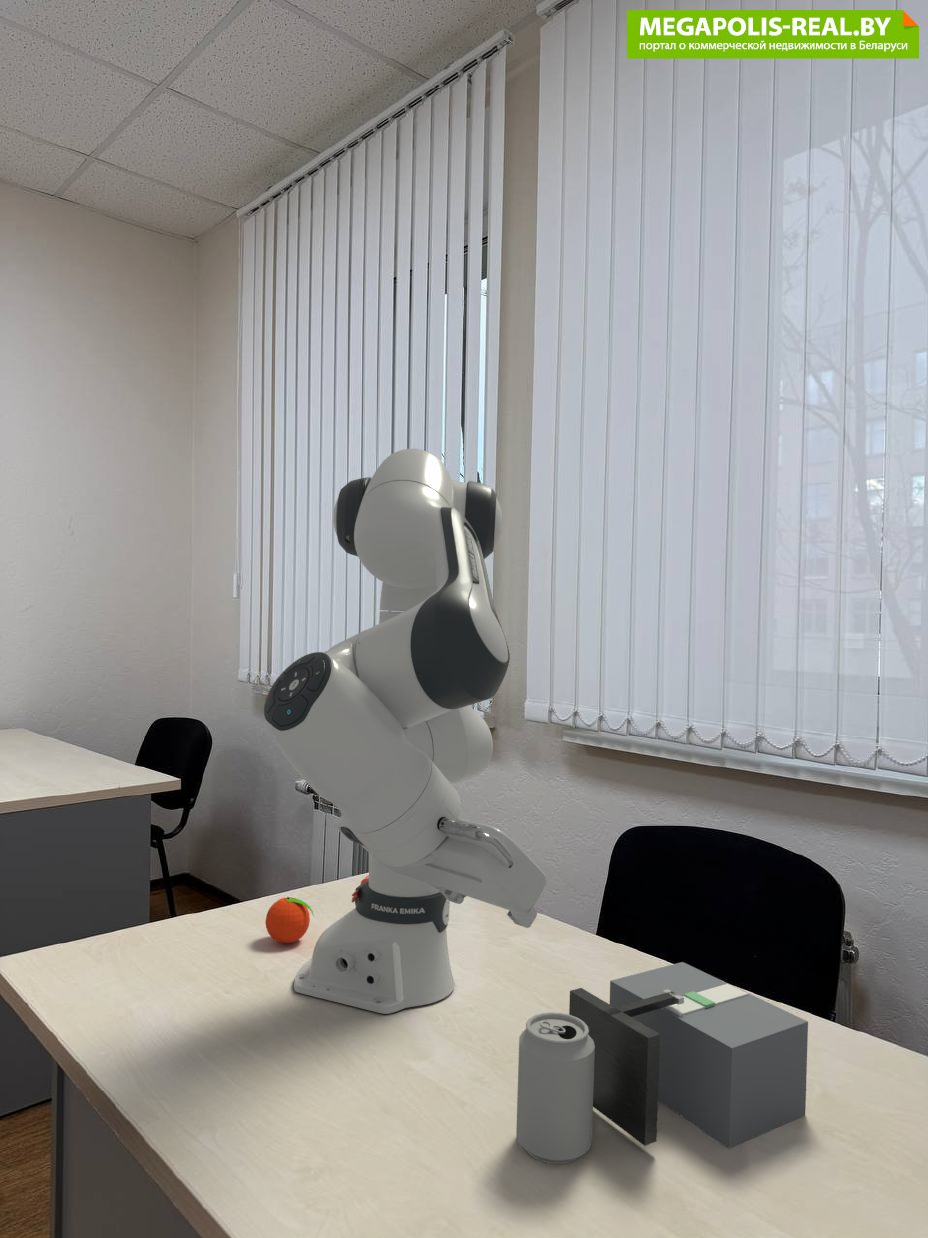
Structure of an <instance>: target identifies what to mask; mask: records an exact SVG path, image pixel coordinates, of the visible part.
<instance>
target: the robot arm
mask: <svg viewBox="0 0 928 1238" xmlns="http://www.w3.org/2000/svg"><path fill="white" fill-rule="evenodd" d="M448 470H449V469H447V466H446V465H445V464H444V462H443V461H441V460H440V458H438V457H437V456H436V455H435V454H433V453H430V452H429V451H426V450H423V449H419V448H406V449H401V450H397V451H395V452H393V453H392V454H390V455H389V456H387V457H386V458H385V459H383V461H382V462H381V464H380V465H379V466H378V467H377V469H376V471H374V473H373V475H372V477H371V476H367V477H362V478H358V479H354V480H350V481H349V482H347V483H346V484H345V485H344V486H343V487H342V488H341V489H340V491H339V493H338V496H337V499H336V502H335V505H334V508H333V509H334V510H333V514H332V515H333V519H332V520H333V521H332V522H333V526H334V527H333V528H334V531H335V534H336V537H337V542H338V544H339V546H340V547H341V548H342V549H343V550H344V551H345V552H346V554H349V555H352V556H355V557H358V559H359V560H360V562H361V564H362V565H363V567H364V568H365V569H366V570H367V571H368V572H369V573H370V575H372V576H373V577H374V578H376V579H378V580H379V581H380V582H382V585H381V591H380V601H379V602H380V603H379V620H378V624H376V625H374V626H372V627H369V628H368V629H365V630H362V631H361V632H358V633H357V634H354V635H352V636H350V637H348V638H347V639H345V640H343V641H341V642H338V643H337V644H334V645H333V646H331V647H330V648H329V649H328V650H327V651H323V652H322V651H317V652H316V651H315V652H311V653H308V654H307V653H306V655H303V656H301V657H300V658H298V659H296V660H295V661H294V662H292V663H291V664H290V665H289V666H287V667H286V668H285V669H284V670H283V671H282V672H281V673H280V674H279V676H278V677H277V678H276V679H275V681H274V683H273V684H272V686H271V688H270V690H268V694H267V696H266V699H265V701H264V703H263V711H262V712H263V718H264V722H265V725H266V726H267V727H266V728H267V729H268V731H269V734H270V735H271V737H272V739H273V741H274V743H275V744H276V745H277V747H278V748H279V750H280V751H281V753H282V754H283V755H284V758H286V759H287V761H288V762H289V763H290V765H291V766H292V768H293V769H294V770H295V771H296V772H297V773H298V774H299V776H300V777H301V778H302V779H303V780H304V781H305V782H306V783H307V784H308V786H310V787H311V788H312V790H313V791H314V792H315V793H316V794H317V795H318V796H320V797H321V798H322V799H324V800H326V801H327V802H328V803H329V802H330V803H332V804H333V806H335V807H336V808H337V809H338V811H339V812H340V814H341V815H340V817H339V819H338V820H337V821H336V823H335V828H336V829H337V830H338V832H339V833H340V834H341V835H342V836H343V837H344V838H345V839H347V840H349V841H351V842H354V843H357V844H359V845H360V846H361V847H362V848H363V849H364V850H366V851H367V852H368V875H366V876H365V877H364V878H363V879H362V880H361V882H360V885H358V886H357V887H356V888H355V889H354V890H355V891H354V892H353V893H352V894H351V897H352V898H351V903H354V905H355V907H354V908H353V909H352V910H350V911H349V912H347V913H346V914H344V915H343V916H342V917H340V918H339V919H338V920H336V921H334V923H331V925H330V926H328V927H327V928H326V929H325V930H324V931H323V932H322V933H321V934H320V936H319V938H318V939H317V941H316V942H315V945H314V948H313V953H312V956H311V959H309V960H308V961H306V962H305V963H304V964H303V965H302V966H301V967H300V968H299V969H298V971H297V972H296V974H295V976H294V983H293V989H294V991H295V992H296V993H299V994H302V995H306V996H311V997H314V998H318V999H322V1000H325V1001H326V1000H327V1001H329V1002H331V1001H332V1002H335V1003H338V1004H343V1005H347V1006H349V1007H355V1008H359V1009H363V1010H366V1011H371V1012H375V1013H379V1014H384V1015H386V1014H387V1015H388V1014H389V1015H390V1014H392V1013H395V1012H399V1011H401V1010H403V1009H407V1008H412V1007H419V1006H426V1005H429V1004H433V1003H436V1002H439V1001H441V1000H442V999H445V998H447V997H448V996H449V995H451V993H452V992H453V991H454V989H455V986H456V983H455V980H454V977H453V972H452V967H451V963H450V955H449V949H448V948H449V947H448V935H447V934H448V933H447V928H448V926H449V925H448V924H449V922H450V903H451V902H452V903H454V904H457V905H461V904H462V903H463V902H464V900H465V898H466V897H469V898H472V899H475V900H478V901H480V902H484V903H487V904H490V905H492V906H495V907H499V908H501V909H504V910H507V911H508V912H507V914H506V916H508V917H509V919H510V920H512V922H513V923H514V924H515V925H517V926H520V927H523V928H525V929H529V928H531V927H532V925H533V923H534V922H535V920H536V918H537V915H538V911H537V910H536V908H535V906H536V905H537V903H538V901H540V898H541V897H542V895H543V893H544V891H545V888H546V886H547V882H548V881H547V880H548V879H547V876H546V874H545V872H544V871H543V870H542V869H541V867H539V865H537V863H536V862H535V861H534V860H533V859H532V858H531V857H530V856H529V855H528V853H526V852H525V850H523V849H522V848H521V847H520V846H519V844H518V843H517V842H515V841H514V840H513V839H512V838H511V837H510V836H509V835H508V834H506V833H505V832H503V831H502V830H500V829H499V828H497V827H495V826H493V825H489V824H485V823H481V822H477V821H474V820H468V819H464V818H460V817H459V815H460V812H461V807H462V804H461V796H460V794H459V792H458V791H457V789H456V788H455V787H454V786H453V785H455V784H457V783H460V782H463V781H467V780H469V779H472V778H474V777H475V778H476V777H477V776H479V775H482V774H483V772H485V770H486V769H487V768H488V766H489V764H490V762H491V759H492V755H493V749H494V748H493V747H494V743H493V742H494V741H493V737H492V732H491V730H490V727H489V725H488V723H487V722H486V721H485V719H484V718H483V717H482V716H480V715H479V713H478V712H476V711H475V710H474V709H473V708H472V706H471V705H474V704H478V703H481V702H483V701H487V700H490V699H492V698H494V696H496V694H497V692H498V691H499V689H500V687H501V685H502V683H503V681H504V679H505V677H506V674H507V671H508V669H509V665H510V664H509V663H510V659H511V655H510V650H509V645H508V641H507V639H506V637H505V636H506V635H505V633H504V630H503V627H502V625H501V622H500V619H499V617H498V614H497V610H496V607H495V604H494V600H493V594H492V590H491V585H490V580H489V575H488V571H487V565H486V562H485V560H486V558H488V557H489V556H490V555H491V554H492V553H493V552H494V549H495V546H496V545H497V544H498V542H499V539H500V536H501V534H502V530H503V512H502V507H501V504H500V502H499V500H498V497H497V492H495V490H494V489H493V488H492V487H491V486H490V485H487V484H485V483H480V482H477V481H473V480H468V482H466V481H465V482H463V481H459V480H453V479H451V476H450V473H449V471H448Z"/></svg>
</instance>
